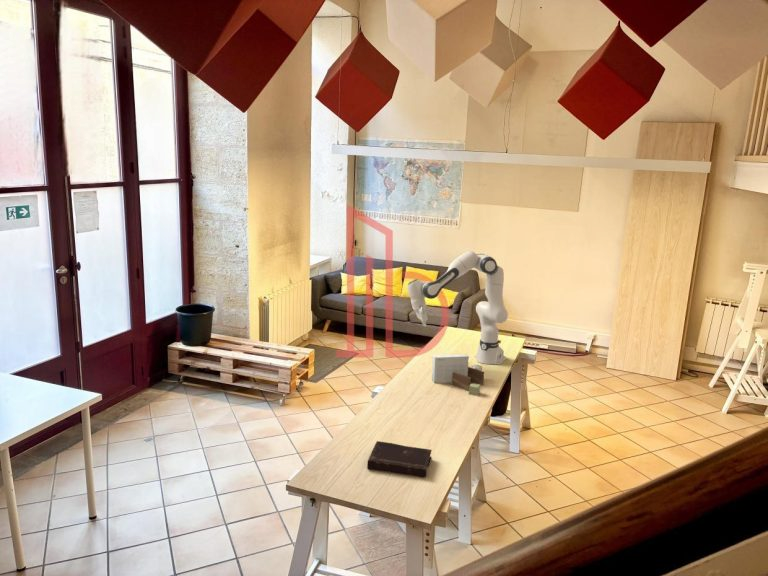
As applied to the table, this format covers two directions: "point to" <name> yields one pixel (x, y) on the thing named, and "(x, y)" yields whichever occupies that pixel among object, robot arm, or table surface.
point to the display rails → (468, 378)
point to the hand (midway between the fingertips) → (424, 326)
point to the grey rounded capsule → (477, 367)
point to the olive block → (474, 389)
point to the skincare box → (448, 367)
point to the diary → (399, 459)
